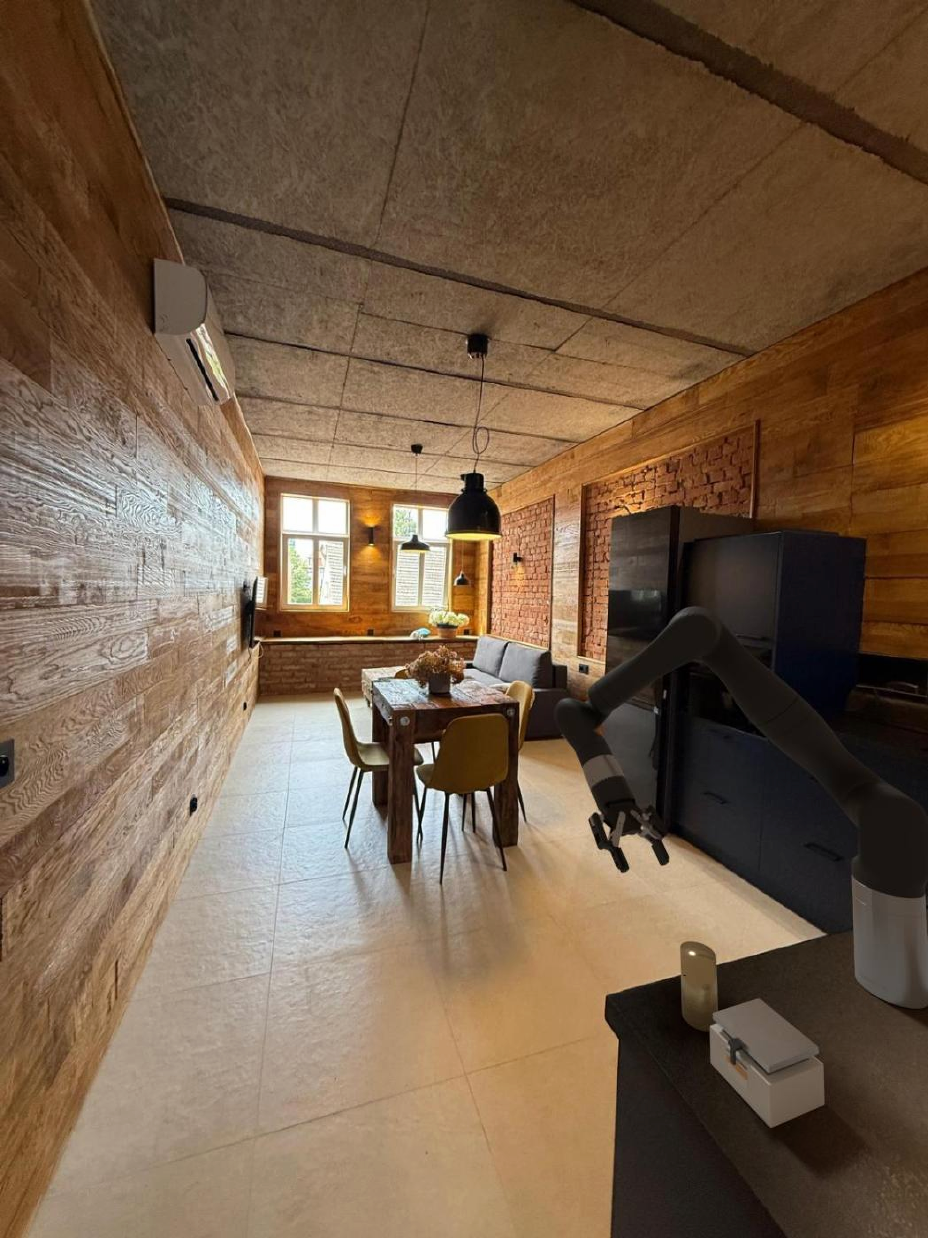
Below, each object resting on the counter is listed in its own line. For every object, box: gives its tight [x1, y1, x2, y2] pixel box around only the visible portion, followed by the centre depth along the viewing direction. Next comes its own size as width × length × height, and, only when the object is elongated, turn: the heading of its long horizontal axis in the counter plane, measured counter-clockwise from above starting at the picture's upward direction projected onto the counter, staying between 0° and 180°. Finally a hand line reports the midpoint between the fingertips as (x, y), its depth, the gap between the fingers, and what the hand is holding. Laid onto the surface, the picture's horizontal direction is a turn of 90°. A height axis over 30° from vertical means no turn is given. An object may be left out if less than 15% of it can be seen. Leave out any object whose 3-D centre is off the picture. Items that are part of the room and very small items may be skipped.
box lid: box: [713, 997, 820, 1073], centre depth 62 cm, size 10×8×4 cm
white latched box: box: [709, 1023, 825, 1129], centre depth 62 cm, size 9×9×5 cm
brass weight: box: [679, 940, 719, 1032], centre depth 73 cm, size 5×5×10 cm
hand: (646, 867), depth 84 cm, fingers open, 8 cm apart
